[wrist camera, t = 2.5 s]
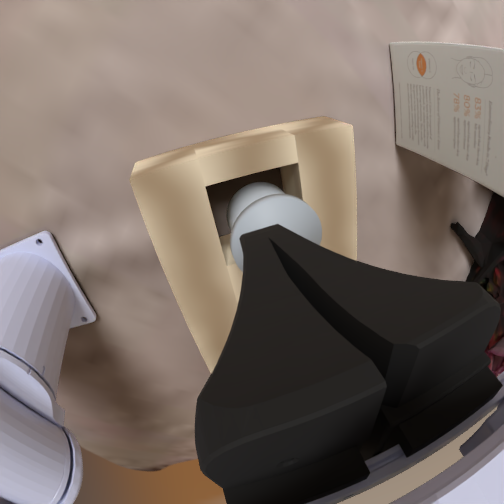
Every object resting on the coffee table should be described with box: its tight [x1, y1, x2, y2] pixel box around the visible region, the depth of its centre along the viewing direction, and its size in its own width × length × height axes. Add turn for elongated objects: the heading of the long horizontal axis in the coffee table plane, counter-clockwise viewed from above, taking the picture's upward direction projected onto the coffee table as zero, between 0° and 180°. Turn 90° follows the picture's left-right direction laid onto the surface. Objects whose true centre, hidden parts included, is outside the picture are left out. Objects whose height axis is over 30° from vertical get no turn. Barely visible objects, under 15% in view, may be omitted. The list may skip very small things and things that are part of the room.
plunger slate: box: [227, 182, 322, 272], centre depth 16 cm, size 4×4×4 cm
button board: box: [130, 116, 357, 373], centre depth 23 cm, size 12×24×4 cm, turn 11°
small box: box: [389, 42, 504, 197], centre depth 14 cm, size 8×6×13 cm
